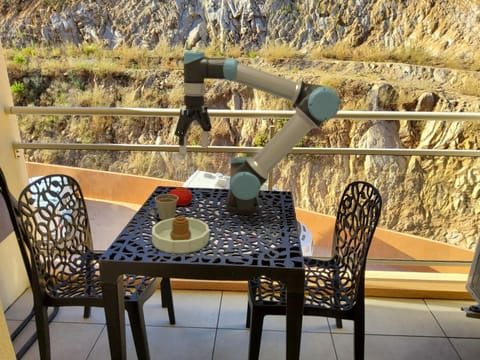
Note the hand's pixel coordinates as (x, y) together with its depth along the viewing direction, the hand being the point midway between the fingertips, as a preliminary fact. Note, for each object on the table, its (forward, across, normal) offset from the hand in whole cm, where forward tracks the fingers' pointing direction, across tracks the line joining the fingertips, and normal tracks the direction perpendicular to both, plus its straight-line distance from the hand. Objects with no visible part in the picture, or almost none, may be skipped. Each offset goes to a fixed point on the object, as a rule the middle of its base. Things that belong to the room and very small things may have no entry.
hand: (194, 150), depth 150 cm
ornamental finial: (+28, +18, +8) cm, 34 cm away
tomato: (+29, -10, -16) cm, 35 cm away
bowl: (+29, +18, +8) cm, 35 cm away
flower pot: (+29, +6, -10) cm, 31 cm away
